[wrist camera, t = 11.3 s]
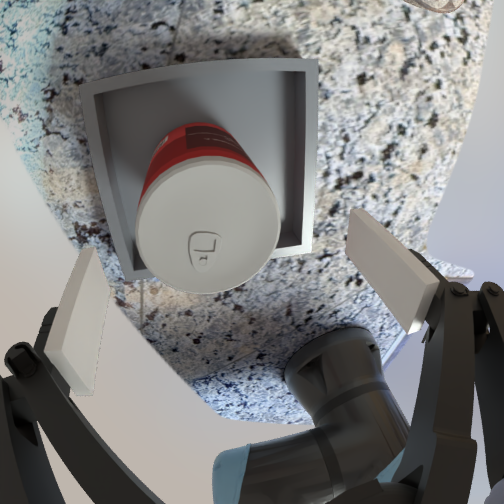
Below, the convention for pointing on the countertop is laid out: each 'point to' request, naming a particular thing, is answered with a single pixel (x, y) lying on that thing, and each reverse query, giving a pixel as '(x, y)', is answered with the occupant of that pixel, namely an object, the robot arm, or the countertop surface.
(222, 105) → the tray
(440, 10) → the pottery
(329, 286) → the countertop surface
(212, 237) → the canned food
